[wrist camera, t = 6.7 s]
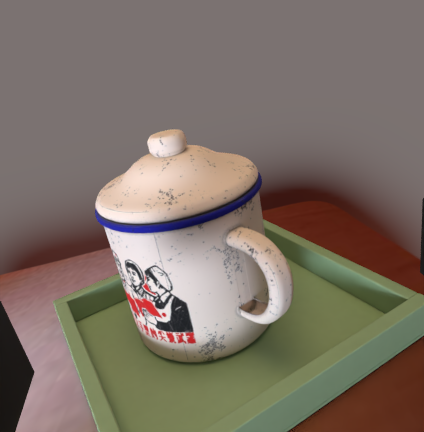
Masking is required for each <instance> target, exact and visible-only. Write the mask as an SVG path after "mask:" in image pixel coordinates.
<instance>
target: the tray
mask: <svg viewBox="0 0 424 432" xmlns="http://www.w3.org/2000/svg"><path fill="white" fill-rule="evenodd" d="M263 225H264V232H265V237H267V238H268V239H269V240H271V241H272V242H273V243H274V244H275V245H276V246H277V247H278V249H279V250H280V251H281V253H282V254H283V255H284V257H285V258H286V260H287V262H288V264H289V267H290V270H291V273H292V278H293V290H294V291H293V298H292V302H291V305H290V307H289V309H288V310H287V312H286V313H285V314H284V315H283V316H281V317H280V318H279V319H277V320H276V321H274V322H272V323H270V324H269V325H268V327H267V328H266V330H265V331H264V332H263V333H262V334H261V335H260V336H259V337H258V338H257V339H256V340H255V341H254V342H253V343H251V344H250V345H248V346H247V347H245V348H244V349H242V350H240V351H238V352H236V353H234V354H231V355H229V356H226V357H223V358H220V359H216V360H212V361H206V362H179V361H174V360H170V359H167V358H164V357H161V356H159V355H157V354H156V353H154V352H152V351H151V350H150V349H149V348H148V347H147V346H146V345H145V344H144V343H143V341H142V339H141V337H140V335H139V332H138V329H137V326H136V323H135V320H134V317H133V314H132V311H131V308H130V305H129V301H128V298H127V295H126V292H125V289H124V286H123V283H122V280H121V277H120V274H119V273H118V274H116V275H114V276H111V277H109V278H106V279H104V280H102V281H99V282H97V283H95V284H92V285H90V286H88V287H85V288H83V289H80V290H78V291H76V292H73V293H71V294H69V295H66V296H64V297H62V298H59V299H57V300H55V301H53V304H54V307H55V310H56V312H57V315H58V318H59V321H60V324H61V327H62V329H63V332H64V335H65V338H66V341H67V344H68V347H69V349H70V352H71V355H72V358H73V361H74V364H75V366H76V369H77V372H78V375H79V378H80V381H81V383H82V386H83V389H84V392H85V395H86V398H87V401H88V403H89V406H90V409H91V412H92V415H93V418H94V420H95V423H96V426H97V429H98V432H287V431H289V430H290V429H292V428H293V427H295V426H296V425H297V424H299V423H300V422H302V421H303V420H305V419H306V418H307V417H309V416H310V415H312V414H313V413H314V412H316V411H317V410H319V409H320V408H322V407H323V406H324V405H326V404H327V403H329V402H330V401H331V400H333V399H334V398H336V397H337V396H339V395H340V394H341V393H343V392H344V391H346V390H347V389H349V388H350V387H351V386H353V385H354V384H356V383H357V382H358V381H360V380H361V379H363V378H364V377H366V376H367V375H368V374H370V373H371V372H373V371H374V370H375V369H377V368H378V367H380V366H381V365H383V364H384V363H385V362H387V361H388V360H390V359H391V358H393V357H394V356H395V355H397V354H398V353H400V352H401V351H402V350H404V349H405V348H407V347H408V346H410V345H411V344H412V343H414V342H415V341H417V340H418V339H419V338H421V337H422V336H424V295H422V294H419V293H418V294H417V293H416V292H414V291H412V290H410V289H408V288H406V287H404V286H402V285H400V284H398V283H396V282H393V281H391V280H389V279H387V278H385V277H383V276H381V275H379V274H377V273H375V272H372V271H370V270H368V269H366V268H364V267H362V266H360V265H358V264H356V263H354V262H352V261H349V260H347V259H345V258H343V257H341V256H339V255H337V254H335V253H333V252H331V251H328V250H326V249H324V248H322V247H320V246H318V245H316V244H314V243H312V242H310V241H307V240H305V239H303V238H301V237H299V236H297V235H295V234H293V233H291V232H289V231H287V230H284V229H282V228H280V227H278V226H276V225H274V224H272V223H270V222H268V221H266V220H263Z"/></svg>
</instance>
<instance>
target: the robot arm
mask: <svg viewBox="0 0 424 432" xmlns="http://www.w3.org/2000/svg"><path fill="white" fill-rule="evenodd" d="M421 239H422V240H421V265H420V273H422V274H423V275H424V198H423V209H422V237H421ZM33 375H34V370H33V368H32V366H31V364H30V362H29V359H28V357H27V355H26V353H25V351H24V349H23V347H22V345H21V343H20V341H19V338H18V336H17V334H16V332H15V330H14V328H13V326H12V324H11V322H10V320H9V317H8V315H7V313H6V311H5V309H4V307H3V305H2V303H1V301H0V432H15V430H16V427H17V424H18V421H19V418H20V415H21V412H22V409H23V406H24V403H25V400H26V397H27V393H28V390H29V387H30V384H31V381H32V378H33Z"/></svg>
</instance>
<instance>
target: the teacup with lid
mask: <svg viewBox="0 0 424 432" xmlns="http://www.w3.org/2000/svg"><path fill="white" fill-rule="evenodd" d="M148 148H149V151H150V154H148V155H146V156H144V157H142V158H140V159H139V160H138V161H136V162H135V164H133V165H132V166H131V168H130V169H129V170H128V171H127V172H126V173H124V174H122V175H120V176H119V177H117V178H115V179H114V180H112V181H111V182H109V183H108V184H107V185H106V186H105V187H104V188H103V189H102V190H101V191H100V193H99V194H98V197H97V199H96V210H95V214H96V218H97V220H98V221H99V223H100V224H102V225H103V226H104V228H105V231H106V234H107V237H108V240H109V243H110V246H111V249H112V252H113V255H114V258H115V261H116V265H117V268H118V271H119V274H120V277H121V280H122V283H123V286H124V289H125V292H126V295H127V298H128V301H129V305H130V308H131V311H132V314H133V317H134V320H135V323H136V326H137V329H138V332H139V335H140V337H141V339H142V341H143V343H144V344H145V345H146V346H147V347H148V348H149V349H150V350H151V351H152V352H154V353H156V354H157V355H159V356H161V357H164V358H167V359H170V360H174V361H179V362H206V361H212V360H216V359H220V358H223V357H226V356H229V355H231V354H234V353H236V352H238V351H240V350H242V349H244V348H245V347H247V346H248V345H250V344H251V343H253V342H254V341H255V340H256V339H257V338H258V337H259V336H260V335H261V334H262V333H263V332H264V331H265V330H266V328H267V327H268V325H269V324H270V323H272V322H274V321H276V320H277V319H279V318H280V317H281V316H283V315H284V314H285V313H286V312H287V310H288V309H289V307H290V305H291V302H292V298H293V291H294V290H293V278H292V273H291V270H290V267H289V264H288V262H287V260H286V258H285V257H284V255H283V254H282V253H281V251H280V250H279V249H278V247H277V246H276V245H275V244H274V243H273V242H272V241H271V240H269V239H268V238H267V237H265V232H264V225H263V218H262V211H261V204H260V197H259V189H260V187H261V184H262V179H261V176H260V173H259V172H258V170H257V168H256V166H255V165H254V164H253V163H252V162H251V161H250V160H249V159H247V158H245V157H242V156H240V155H236V154H230V153H217V152H214V151H212V150H210V149H207V148H205V147H201V146H195V145H187V141H186V136H185V134H184V133H183V132H182V131H181V130H177V129H175V130H166V131H162V132H158V133H155V134H153V135H152V136H150V137H149V139H148Z"/></svg>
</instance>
